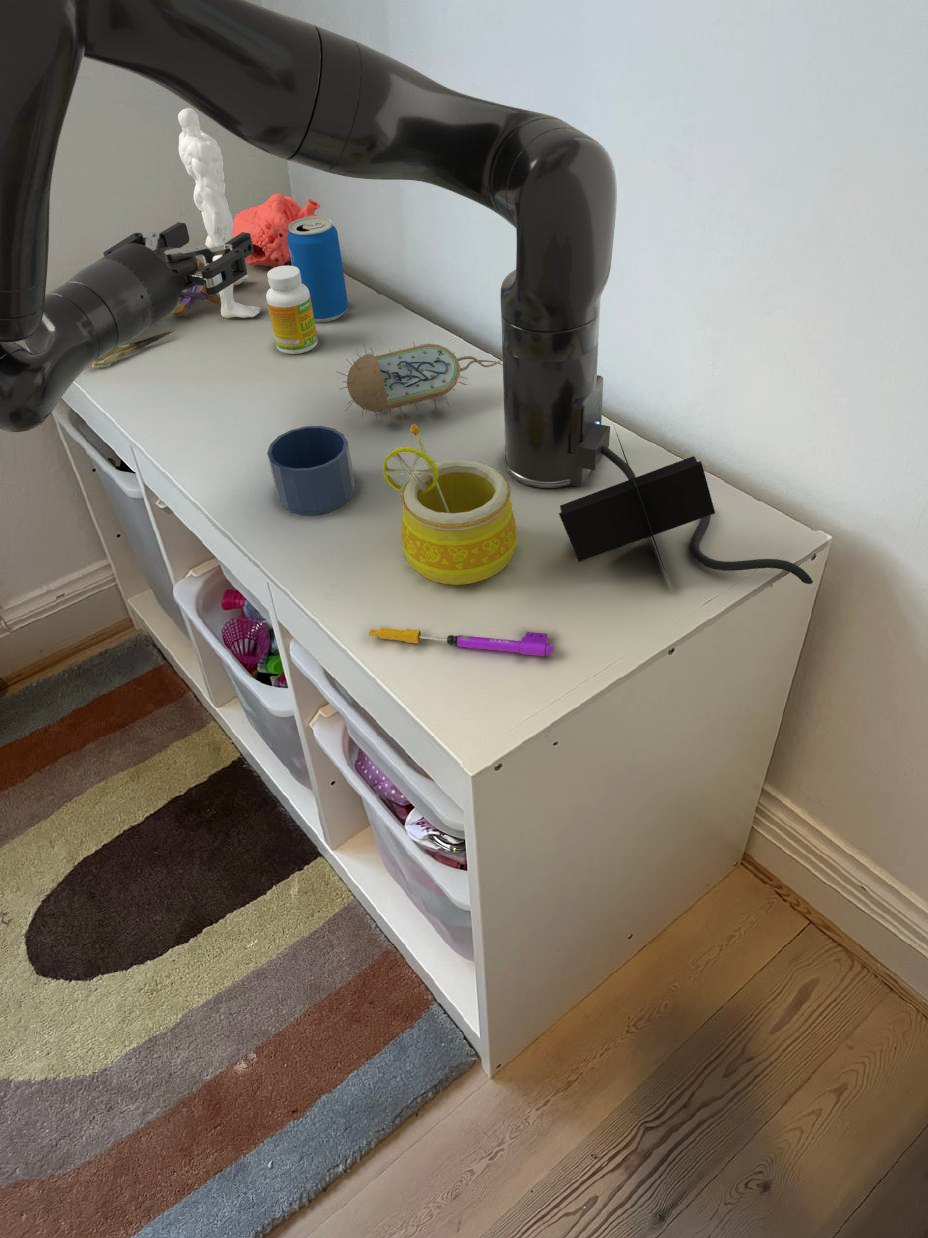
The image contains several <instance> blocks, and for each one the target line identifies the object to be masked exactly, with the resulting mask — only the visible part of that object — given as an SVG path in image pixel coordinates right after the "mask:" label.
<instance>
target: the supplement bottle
mask: <svg viewBox="0 0 928 1238" xmlns="http://www.w3.org/2000/svg"><path fill="white" fill-rule="evenodd" d="M266 276H267V281H268V285H269V287H270V288H269V289H268V290H267V292H266V295H265V296H266V297H265V298H266V303H267V308H268V314H269V318H270V322H271V328H272V333H273V337H274V342H275V346H276V349H277V350H278V351H280V352H281V353H283V354H286V355H287V354H288V355H298V354H303V353H307V352H310V351H311V350H313V349H315V347H316V346H317V344H318V340H319V339H318V333H317V327H316V322H315V321H314V315H313V309H312V304H311V298H310V293H309V290H308V288H307V287H306V286H305V285H304V284H302V283H301V281H302V280H301V275H300V270H299V269H298V268H297V267H295V266H292V265H283V266H279V267H275V268H274V267H272V268H271V269H270V270H269V271H268V272H267V275H266Z"/></svg>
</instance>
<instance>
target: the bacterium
mask: <svg viewBox="0 0 928 1238" xmlns="http://www.w3.org/2000/svg"><path fill="white" fill-rule="evenodd" d="M412 342H413V345H414V346H412V347H408V348H403V349H400V348H399V349H398V350H395V351H391V350H390V348H388V351H389V352H387V353H383V354H379V355H378V354H376V355H375V352H374V351H373V349H372V347H371V346H369V349H370V350H371V353H367V349H366V345H365V343H363V347H364V351H365V353H366V354H364V355H362V356H360V355H359V354H358V353H356V356H358V357H359V358H358V359H356V360H355V361H354V360H352V363H353V364H352V363H351V361H349V360H348V359H347V358H345V360H346V361H347V362H348V363H349V364H350V365H351V366H350V368H349V370H348V372H347V374H345V373H342V372H339V371H337V370H335V371H336V372H335V373H338V374H341V375H343V376H346V381H345V380H344V381H343V383H346V386H344V387H342V388H340V390H343V389H347V391H348V395H349V396H350V398H351V400H350V401H349V402H348V403H347V406H348V407H347V406H346V407H347V408H346V409H345V411H347V410H348V409H349V408H350V407H351V405H352V404H353V403H355V404H356V405H357V406H358V407H359V408H361V409H362V411H364V410H365V411H366V412H367V411H368V412H372V413H375V419H378V417H377V413H381V415H382V418H383V421H384V423H386V422H385V416H384V413H383V412H386V411H389V412H390V417H391V423H392V426H393V427H395V424H394V420H393V415H392V410H394V409H397V408H398V409H399V411H400V415H401V418H402V420H403V422H404V423H406V421H405V419H404V416H403V410H402V407H405V406H409V405H413V404H414V405H415V409H416V411H417V412H419V410H420V411H422V408H421V405H420V402H421V403H422V402H425V401H428V400H432V399H433V401H434V406H435V410H436V411H435V412H436V415H439V414H438V409H437V407H439V405H438V404H437V402H436V399H438V398H440V397H443V396H445V399H446V402H447V406H448V408H449V410H450V411H452V409H451V407H450V404H449V400H448V396H447V394H448V393H449V392H452V390H453V391H455V389H454V387H455V386H456V385H457V383H459V384H462V385H465V386H468V385H469V383H464V382H461V381H459V378H460V379H462V380H468V378H467V377H464V376H462V375H461V372H464V371H466V370H468V368H470V366H471V365H472V364H474V363H477V364H479V365H480V367H483V368H490V367H493V366H496V365H497V364H499V365H501V366H503V363H501V362H503V357H502V358H501V359H499V360H498V361H496V360H489V359H478V358H476V357H475V356H472V355H464V356H460V357H457V356H456V354H455V352H452V351H451V350H450V349H448V348H447V347H445V346H443V345H441V344H435V343H424V344H421V343H419V345H415V342H414V341H412ZM356 351H358V349H357V350H356ZM464 360H471V361H469V362H468V363H467V364H466V366H463V367H461V364H460V361H464ZM484 363H491V364H484ZM416 403H417V404H418V407H419V410H418V407H417V404H416ZM420 413H421V414H422V412H420ZM361 414H362V415H361V416H362V417H361V418H363V417H364V412H362V413H361Z"/></svg>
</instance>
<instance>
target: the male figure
mask: <svg viewBox="0 0 928 1238" xmlns="http://www.w3.org/2000/svg"><path fill="white" fill-rule="evenodd" d="M177 120H178V124H179V125H180V127H181V130H182V131H181V132H180V133H179V135H178V155H179V158H180V160H181V163H182V164H183V166H184V168H185V170H186V172H187V174H188V175H189V177H191V178H193V180H194V181H195V186H194V189H193V190H194V191H193V202H194V204H195V206H196V208H197V209H198V210H199V211H200V213H201V216H202V221H203V225H204V228H205V230H206V233H207V236H206V239H205V243H204V245H207V246H208V247H209V248H212V247H216V246H220V245H224V244H225V243H226V242H228V241H230V240H231V239H233V227H234V225H233V220H234V219H233V216H232V213H231V210H230V206H229V202H228V200H227V197H226V196H225V195H226V183H225V172H224V160H223V159H224V157H223V154H222V151H221V147H220V146H219V144H218V142H217V140H216V139H214V137H212V136H210V135H209V134H207V133H205V132H204V131H203V130H202V129H201V123H200V119H199V114H197V112H196V111H195V110H194V109H193V108H191V107H186V108H183V109H181V110H180V111H179V112H178V115H177ZM220 257H222V254H221V255H217V256H214V257H213V261H215V260H217V259H218V258H220ZM248 279H249V274H247V275H245V276H244V277H242V278H241V279H239V280H237V281H236V282H234V283H233V284H231V285H229V286H228V287H226V288H225V289H223V290H221V291H220V292H218V294H219V297H220V299H221V300H220V305H221V307H220V314H221V316H222V317H223V318H226V319H229V318H243V319H246V318H254V317H256V316H257V315H259V314H260V312H261V310H262V309H261V307H260V306H259V307H258V306H254V305H245V304H242V303H240V302H238V301H235V299H234V286H237V285H240V284H241V283H243V281H247V280H248Z"/></svg>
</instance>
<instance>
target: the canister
mask: <svg viewBox="0 0 928 1238" xmlns="http://www.w3.org/2000/svg"><path fill="white" fill-rule="evenodd" d="M349 446H350V445H349V441H348V439H347V438H346V436H345V434H344V433H342V432H341V431H339V430H338V429H336V428H335V427H328V426H324V425H305V426H301V427H297V428H293V429H290V430H287V431H286V432H284V433H282V434H279V435H278V436H277V437H276V438H274V440H273V441H272V442H271V443H270V444H269V446H268V449H267V453H266V454H267V459H268V462H269V467H270V473H271V475H272V476H271V477H272V480H273V485H274V488H275V493H276V496H277V500H278V502H279V504H280V505H281V507H282V508H283V509H285V510H286V511H288V512H290V513H292V514H296V515H300V516H318V515H323V514H328V513H331V512H333V511H336V510H338V509H340V508H342V507H343V506H345V505H346V504H348V502H349V501H350V500H351V499H352V498H353V496H354V493H355V490H356V489H355V483H356V482H355V476H354V471H353V470H354V469H353V465H352V464H353V463H352V458H351V452H350V447H349Z"/></svg>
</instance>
